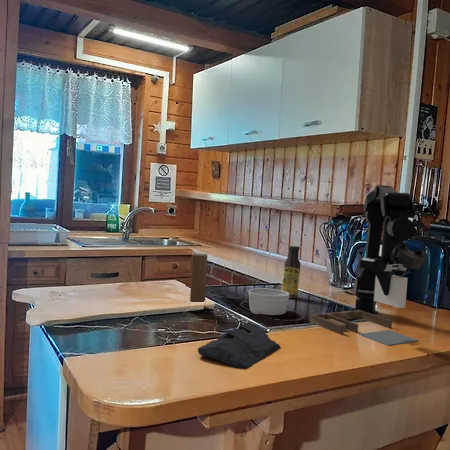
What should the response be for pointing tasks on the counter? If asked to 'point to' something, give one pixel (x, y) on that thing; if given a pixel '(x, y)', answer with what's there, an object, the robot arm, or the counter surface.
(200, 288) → the wooden block
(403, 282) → the board
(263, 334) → the folded dark cloth
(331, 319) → the offcut upper
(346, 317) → the rack
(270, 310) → the ramekin
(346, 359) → the counter surface
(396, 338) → the mat
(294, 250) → the sauce bottle
